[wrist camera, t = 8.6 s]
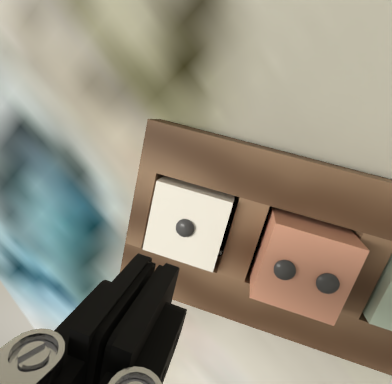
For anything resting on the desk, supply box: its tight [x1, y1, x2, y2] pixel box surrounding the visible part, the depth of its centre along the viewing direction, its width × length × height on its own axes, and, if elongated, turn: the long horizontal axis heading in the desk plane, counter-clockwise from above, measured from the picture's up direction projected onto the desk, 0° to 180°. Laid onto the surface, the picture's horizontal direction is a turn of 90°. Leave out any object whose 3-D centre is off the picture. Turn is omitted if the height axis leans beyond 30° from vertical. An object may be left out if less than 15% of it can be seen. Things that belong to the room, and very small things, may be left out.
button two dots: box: [249, 207, 370, 326], centre depth 17 cm, size 5×5×3 cm
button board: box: [120, 119, 392, 375], centre depth 19 cm, size 12×23×2 cm, turn 77°
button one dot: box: [142, 176, 235, 272], centre depth 19 cm, size 5×5×3 cm
